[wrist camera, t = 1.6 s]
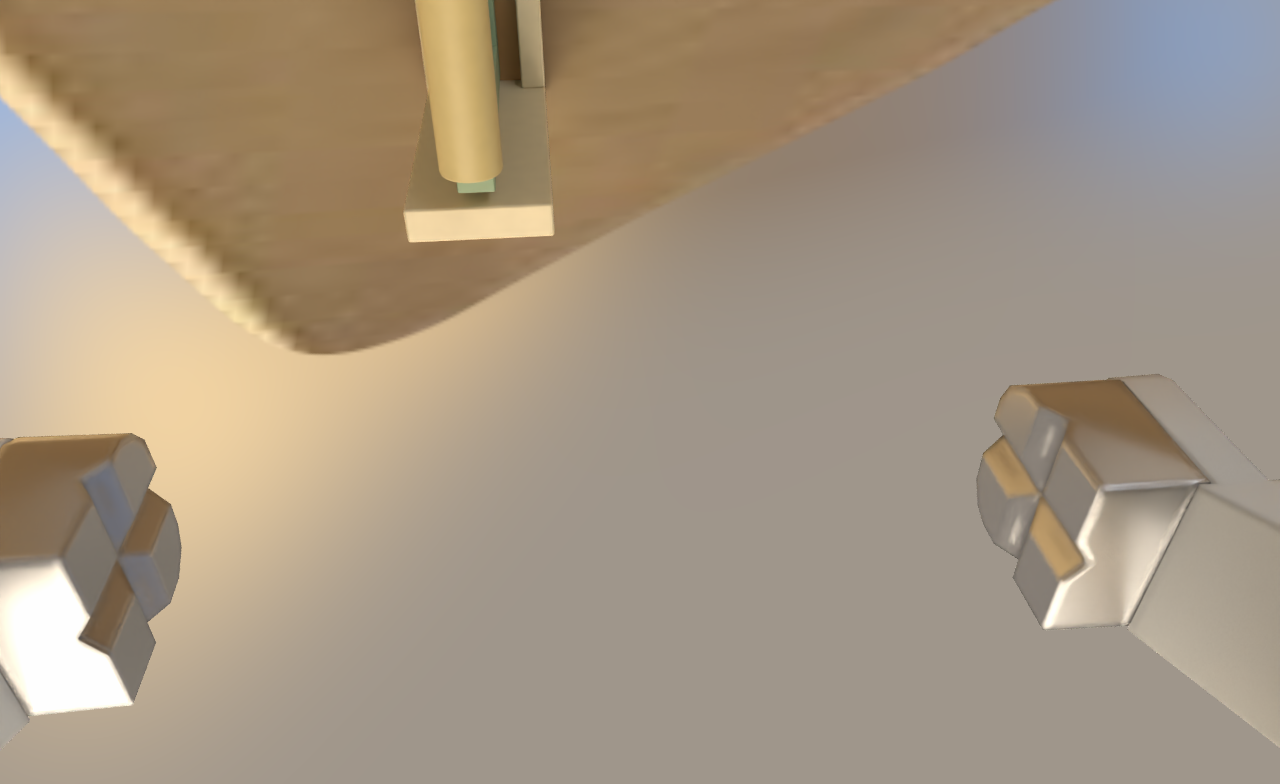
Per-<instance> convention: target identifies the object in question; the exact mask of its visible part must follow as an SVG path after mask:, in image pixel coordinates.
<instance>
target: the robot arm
mask: <svg viewBox="0 0 1280 784" xmlns="http://www.w3.org/2000/svg"><path fill="white" fill-rule="evenodd" d="M994 420H995V422H996V423H997V425H998V427H999V428H1000V430H1001V432H1002V433H1003V436H1002V437H1000V438H999V439H998V440H997V441H996V442H995V443H994V444H993V445H992V446H991V447H990V448H988V449H987V450H986V451H985V452H984V453H983V456H982V460H981V464H980V468H979V471H978V475H977V499H978V508H979V511H980V514H981V518H982V521H983V524H984V526H985V528H986V530H987V532H988V534H989V536H990V537H991V539H992V541H993V543H994V544H995V545H997V546H998V547H1000V548H1001V549H1003V550H1005V551H1006V552H1008V553H1009V554H1011V555H1012V556H1014V557H1015V558H1017V559H1018V562H1017V565H1016V568H1015V572H1014V575H1013V579H1014V580H1015V582H1016V584H1017V586H1018V587H1019V589H1020V591H1021V593H1022V594H1023V596H1024V598H1025V600H1026V601H1027V603H1028V605H1029V606H1030V608H1031V610H1032V612H1033V614H1034V615H1035V617H1036V619H1037V621H1038V622H1039V624H1040V626H1041V627H1042V629H1043V630H1057V629H1074V628H1093V627H1112V626H1129V627H1128V631H1130V632H1131V633H1132V634H1134V635H1135V636H1136V637H1137V638H1139V639H1140V640H1141V641H1143V642H1144V643H1145V644H1147V645H1148V646H1149V647H1150V648H1152V649H1153V650H1154V651H1155V652H1157V653H1158V654H1159V655H1161V656H1162V657H1163V658H1165V659H1166V660H1167V661H1168V662H1170V663H1171V664H1172V665H1174V666H1175V667H1176V668H1177V669H1179V670H1180V671H1181V672H1183V673H1184V674H1185V675H1186V676H1188V677H1189V678H1190V679H1192V680H1193V681H1194V682H1196V683H1197V684H1198V685H1199V686H1201V687H1202V688H1203V689H1205V690H1206V691H1207V692H1208V693H1210V694H1211V695H1212V696H1214V697H1215V698H1216V699H1218V700H1219V701H1220V702H1221V703H1223V704H1224V705H1225V706H1227V707H1228V708H1230V710H1232V711H1233V712H1234V713H1236V714H1237V715H1238V716H1239V717H1241V718H1242V719H1244V720H1245V721H1246V722H1247V723H1248V724H1250V725H1251V726H1252V727H1254V728H1255V729H1256V730H1258V731H1259V732H1260V733H1261V734H1263V735H1264V736H1265V737H1267V738H1268V739H1269V740H1271V741H1272V742H1273V743H1274V744H1276V745H1277V746H1278V747H1280V480H1268V479H1267V478H1266V477H1265V476H1264V475H1263V474H1262V473H1261V471H1260V470H1259V469H1258V468H1257V467H1256V466H1255V465H1254V464H1253V463H1252V462H1251V461H1250V460H1249V459H1248V458H1247V457H1246V456H1245V455H1244V454H1243V453H1242V452H1241V451H1240V450H1239V449H1238V447H1237V446H1236V445H1235V444H1234V443H1233V442H1232V441H1231V440H1230V439H1229V438H1228V437H1227V436H1226V435H1225V434H1224V433H1223V432H1222V431H1221V430H1220V429H1219V428H1218V427H1217V426H1216V425H1215V423H1214V422H1213V421H1212V420H1210V418H1209V417H1208V416H1207V415H1206V414H1205V413H1204V412H1203V411H1202V410H1201V409H1200V408H1199V407H1198V406H1197V405H1196V404H1195V403H1194V402H1193V401H1192V400H1191V398H1190V397H1189V396H1188V395H1187V394H1186V393H1185V392H1184V391H1183V390H1182V389H1181V388H1180V387H1179V386H1178V385H1177V384H1176V383H1175V382H1174V381H1173V380H1171V379H1169V378H1166V377H1164V376H1162V375H1159V374H1151V375H1140V376H1127V377H1115V378H1108V379H1107V380H1094V381H1077V382H1061V383H1044V384H1027V385H1011V386H1009V388H1008V389H1007V390H1006V391H1005V393H1004V394H1003V395H1002V397H1001V398H1000V401H999V404H998V407H997V410H996V413H995V416H994ZM156 468H157V467H156V465H155V463H154V460H153V458H152V456H151V454H150V451H149V449H148V447H147V445H146V442H145V440H144V439H142V438H140V437H138V436H136V435H134V434H132V433H128V434H100V435H70V436H44V437H43V436H41V437H18V438H16V439H11V438H0V750H1V749H2V748H3V747H4V746H5V745H6V744H7V743H8V742H9V741H10V740H11V739H12V738H13V737H14V736H15V735H16V734H17V733H18V732H19V731H20V730H21V729H22V728H23V727H24V726H25V725H26V724H27V723H29V718H28V716H34V715H43V714H52V713H60V712H70V711H80V710H88V709H99V708H108V707H117V706H126V705H133V703H134V700H135V697H136V695H137V692H138V689H139V687H140V684H141V681H142V679H143V676H144V673H145V671H146V668H147V665H148V662H149V660H150V657H151V655H152V652H153V649H154V646H155V644H156V641H155V639H154V637H153V635H152V632H151V630H150V628H149V625H148V623H147V622H148V621H150V620H151V619H152V618H153V617H154V616H155V615H156V614H158V613H159V612H160V611H161V610H163V609H164V608H165V607H166V606H167V605H168V604H170V602H171V600H172V597H173V594H174V591H175V588H176V585H177V582H178V579H179V571H180V559H181V542H180V535H179V528H178V523H177V520H176V518H175V515H174V512H173V509H172V507H171V504H170V503H168V502H167V501H165V500H164V499H163V498H161V497H160V496H158V495H157V494H156V493H154V492H153V491H151V490H150V489H148V487H149V484H150V482H151V480H152V477H153V475H154V473H155V470H156Z"/></svg>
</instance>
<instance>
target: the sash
mask: <svg viewBox="0 0 1280 784" xmlns="http://www.w3.org/2000/svg"><path fill="white" fill-rule="evenodd" d="M416 5H417V12H418V19H419V27H420V34H421V42H422V49H423V56H424V64H425V71H426V78H427V86H428V93H429V100H430V108H431V115H432V122H433V130H434V137H435V144H436V152H437V159H438V167H439V172H440V174H441V175H442V176H443V177H444V178H445V179H447V180H449V181H453V182H456V183H457V191H458V193H475V192H494V191H495V189H496V176H498V175H499V174H500V173H501V171H502V169H503V159H502V148H501V137H500V127H499V116H498V113H499V88H500V62H499V51H498V39H497V28H496V17H495V5H494V0H416Z"/></svg>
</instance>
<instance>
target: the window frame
mask: <svg viewBox="0 0 1280 784" xmlns="http://www.w3.org/2000/svg"><path fill="white" fill-rule="evenodd" d="M415 5H416V0H415ZM494 5H495V17H496V28H497V39H498V51H499V62H500V88H499V113H498V116H499V127H500V137H501V148H502V159H503V169H502V171H501V173H500V174H499V175H498V176H496V189H495V191H494V192H475V193H458V191H457V183H456V182H453V181H449V180H447V179H445V178H444V177H443V176H442V175H441V174H440V172H439V167H438V159H437V152H436V144H435V137H434V130H433V122H432V115H431V108H430V100H429V93H428V95H427V99H426V104H425V109H424V114H423V119H422V124H421V129H420V133H419V138H418V143H417V148H416V153H415V158H414V163H413V167H412V172H411V177H410V182H409V187H408V192H407V197H406V201H405V206H404V211H403V213H404V219H405V225H406V231H407V237H408V240H409V242H428V241H449V240H470V239H492V238H513V237H534V236H552V235H554V233H555V230H554V213H553V197H552V182H551V167H550V152H549V137H548V122H547V107H546V92H545V76H544V59H543V42H542V25H541V9H540V0H494ZM416 13H417V20H418V27H419V19H418V12H417V5H416ZM419 35H420V42H421V34H420V27H419ZM421 49H422V42H421ZM422 57H423V64H424V56H423V49H422ZM424 71H425V64H424ZM425 79H426V86H427V78H426V71H425ZM427 90H428V86H427Z"/></svg>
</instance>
